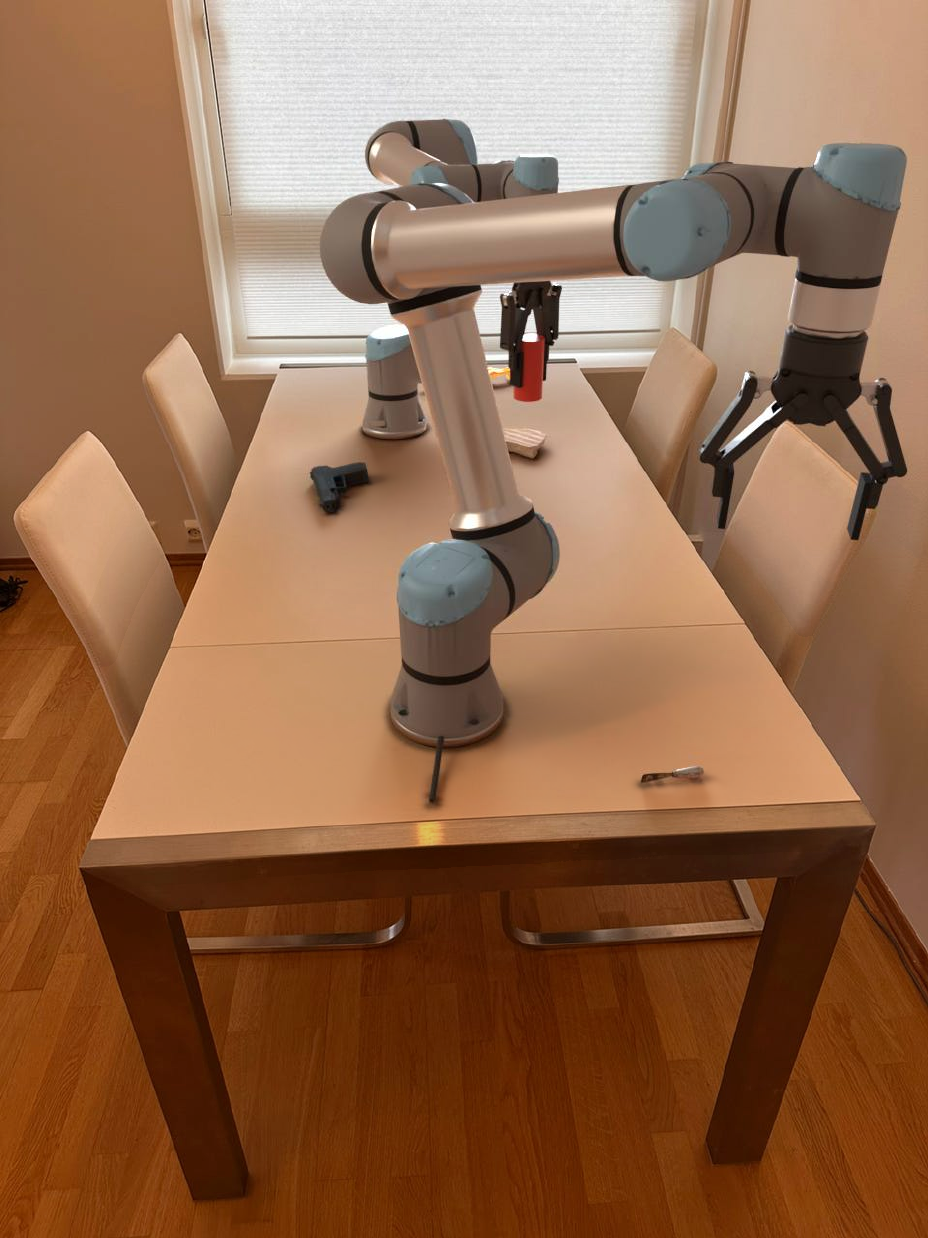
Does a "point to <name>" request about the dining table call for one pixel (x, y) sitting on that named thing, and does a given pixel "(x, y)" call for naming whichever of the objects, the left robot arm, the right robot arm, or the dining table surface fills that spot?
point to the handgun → (336, 482)
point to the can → (531, 369)
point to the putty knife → (674, 774)
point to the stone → (524, 441)
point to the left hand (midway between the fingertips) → (528, 382)
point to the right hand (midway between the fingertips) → (785, 529)
